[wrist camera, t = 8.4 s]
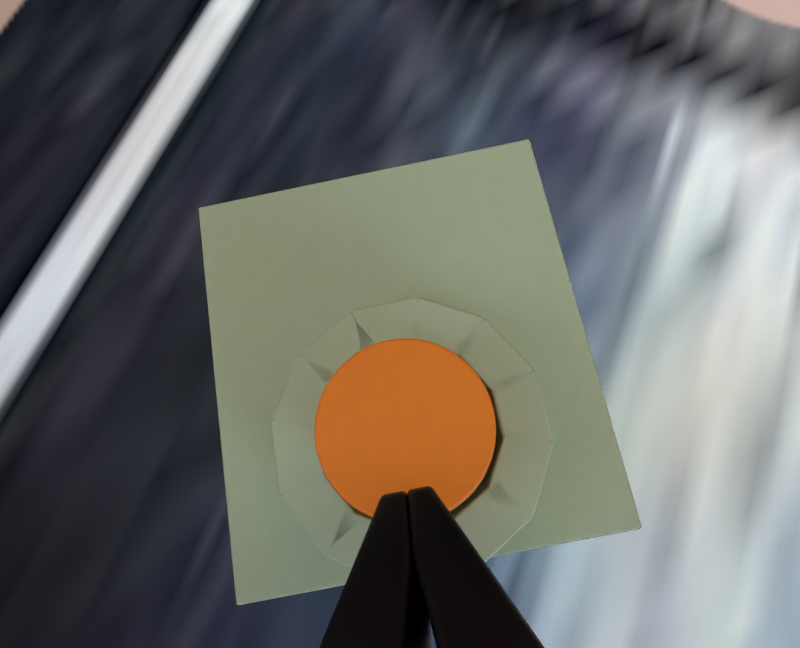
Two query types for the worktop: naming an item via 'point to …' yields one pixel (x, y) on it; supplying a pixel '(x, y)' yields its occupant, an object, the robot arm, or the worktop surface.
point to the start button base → (393, 319)
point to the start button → (404, 424)
